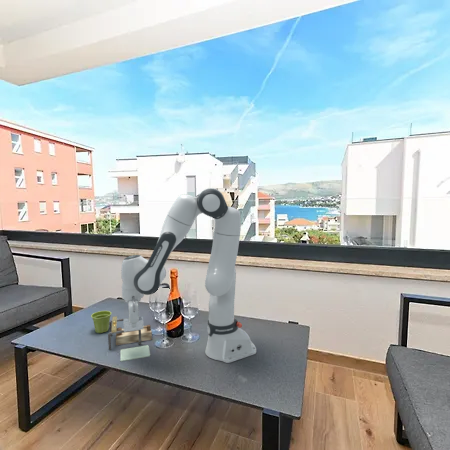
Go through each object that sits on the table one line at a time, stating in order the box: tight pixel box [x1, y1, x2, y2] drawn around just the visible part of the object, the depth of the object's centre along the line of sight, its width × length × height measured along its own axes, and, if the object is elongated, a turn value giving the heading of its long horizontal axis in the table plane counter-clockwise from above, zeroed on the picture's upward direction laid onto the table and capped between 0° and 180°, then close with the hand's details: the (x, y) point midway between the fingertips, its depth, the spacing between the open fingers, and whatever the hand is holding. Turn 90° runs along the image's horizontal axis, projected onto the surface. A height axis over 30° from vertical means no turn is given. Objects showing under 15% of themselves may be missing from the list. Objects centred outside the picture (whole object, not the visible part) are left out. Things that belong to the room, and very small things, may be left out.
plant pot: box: [90, 310, 112, 334], centre depth 147 cm, size 9×9×9 cm
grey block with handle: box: [123, 316, 144, 332], centre depth 125 cm, size 8×4×5 cm, turn 109°
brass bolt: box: [112, 315, 118, 333], centre depth 135 cm, size 2×15×2 cm, turn 19°
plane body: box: [107, 317, 153, 351], centre depth 138 cm, size 19×14×8 cm
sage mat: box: [119, 344, 151, 362], centre depth 126 cm, size 12×9×1 cm
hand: (133, 324), depth 125 cm, fingers closed on grey block with handle, 4 cm apart
